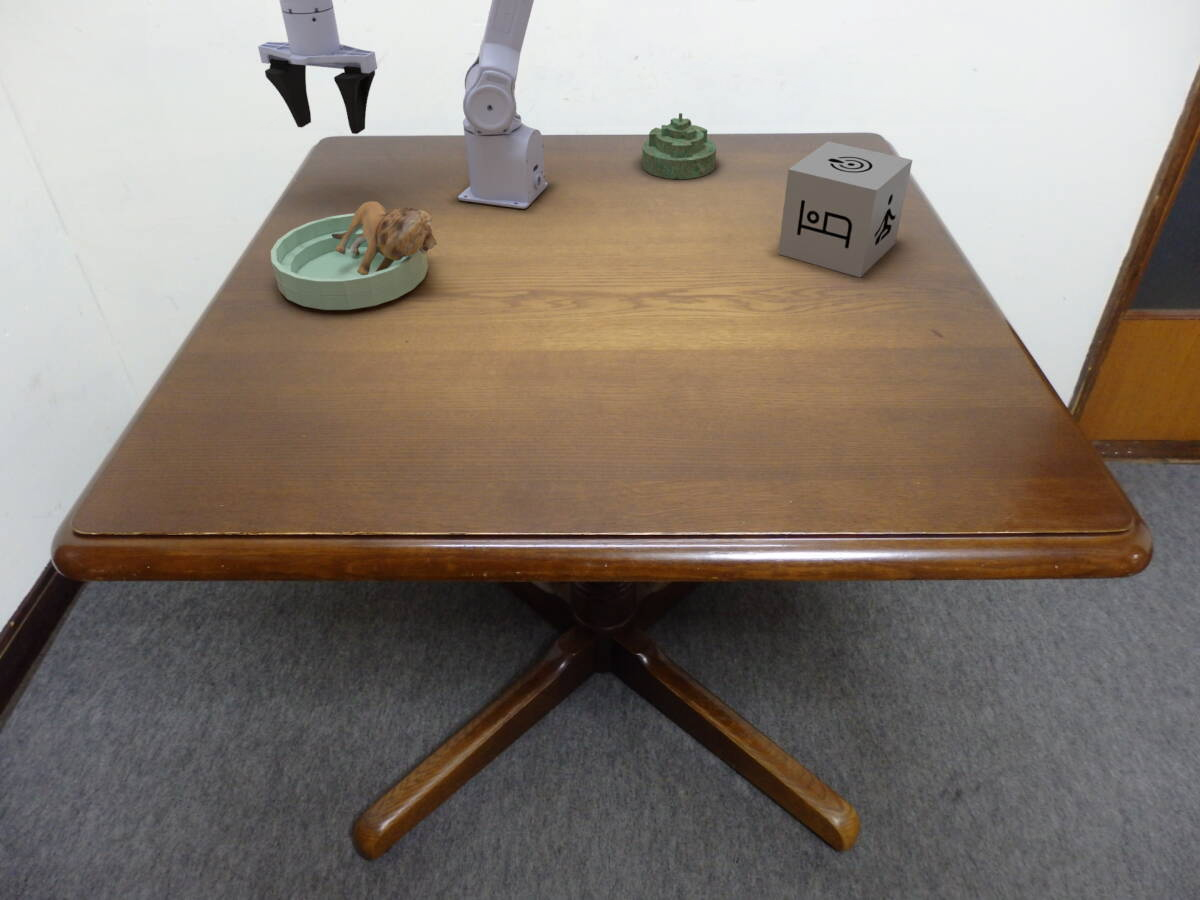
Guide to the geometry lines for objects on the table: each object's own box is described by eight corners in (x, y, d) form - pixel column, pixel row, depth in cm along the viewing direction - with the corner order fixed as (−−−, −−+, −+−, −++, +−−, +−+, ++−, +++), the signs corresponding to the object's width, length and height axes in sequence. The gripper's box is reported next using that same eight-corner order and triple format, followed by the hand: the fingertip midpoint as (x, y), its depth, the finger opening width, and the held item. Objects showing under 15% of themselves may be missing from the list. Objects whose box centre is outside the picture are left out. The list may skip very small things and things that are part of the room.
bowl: (452, 255, 105) (448, 223, 103) (383, 325, 93) (376, 290, 91) (330, 237, 109) (323, 205, 107) (249, 301, 97) (239, 267, 95)
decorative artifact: (641, 179, 122) (716, 179, 121) (642, 126, 117) (720, 126, 117) (642, 151, 130) (712, 151, 129) (643, 101, 125) (716, 101, 125)
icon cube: (778, 253, 104) (788, 169, 98) (816, 222, 111) (828, 141, 104) (860, 277, 100) (876, 190, 94) (895, 243, 106) (912, 159, 100)
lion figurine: (413, 302, 97) (453, 227, 95) (374, 288, 93) (415, 209, 91) (347, 247, 106) (382, 177, 104) (309, 231, 101) (344, 158, 99)
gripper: (231, 12, 102) (261, 132, 111) (344, 21, 98) (366, 145, 107) (268, -3, 107) (294, 113, 116) (377, 5, 103) (395, 125, 112)
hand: (331, 127), depth 112 cm, fingers open, 7 cm apart
